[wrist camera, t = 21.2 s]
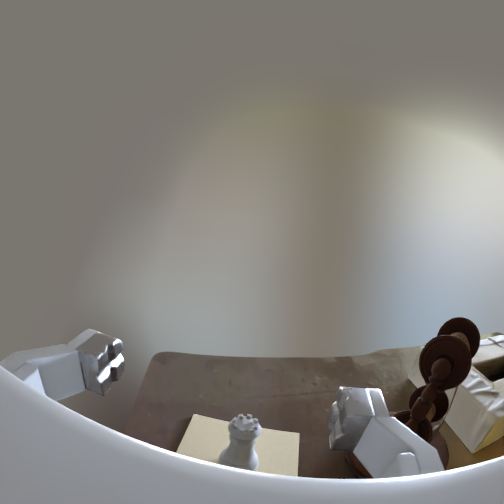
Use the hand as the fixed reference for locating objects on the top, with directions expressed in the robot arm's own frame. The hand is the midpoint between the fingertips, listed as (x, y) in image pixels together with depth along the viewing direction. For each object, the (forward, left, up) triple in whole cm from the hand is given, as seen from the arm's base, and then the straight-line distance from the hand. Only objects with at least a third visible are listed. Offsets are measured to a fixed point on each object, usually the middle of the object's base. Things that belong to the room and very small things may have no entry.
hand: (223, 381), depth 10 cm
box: (+46, +29, -23) cm, 59 cm away
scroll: (+20, +15, -23) cm, 35 cm away
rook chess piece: (+1, +12, -23) cm, 26 cm away
